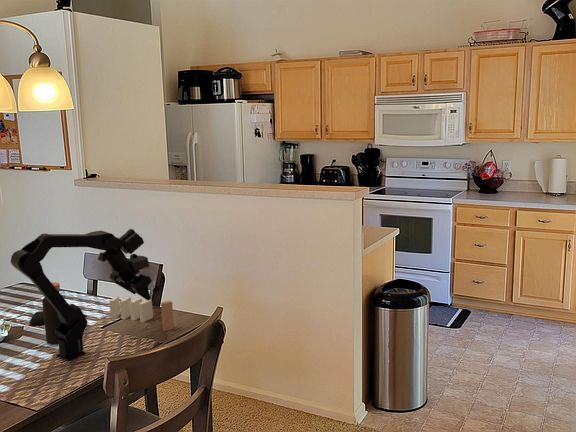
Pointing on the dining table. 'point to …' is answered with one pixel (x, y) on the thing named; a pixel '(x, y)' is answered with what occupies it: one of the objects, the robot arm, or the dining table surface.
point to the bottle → (51, 319)
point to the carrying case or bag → (37, 318)
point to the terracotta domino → (167, 315)
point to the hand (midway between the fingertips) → (142, 296)
